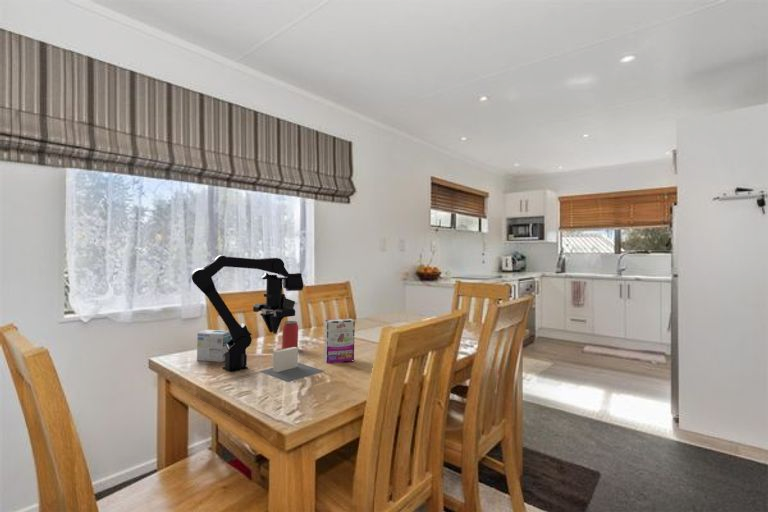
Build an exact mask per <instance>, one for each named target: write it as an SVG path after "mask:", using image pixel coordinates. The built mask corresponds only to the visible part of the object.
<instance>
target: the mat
mask: <svg viewBox="0 0 768 512" xmlns="http://www.w3.org/2000/svg"><path fill="white" fill-rule="evenodd" d="M259 372H260V373H263V374H265V375H268V376H270V377H273V378H276V379H279V380H280V381H284V382H286V383H290V382H294V381H297V380H299V379H303V378H306V377H310V376H313V375H314V376H315V375H316V374H319V373H323V372H325V370H322V369H319V368H316V367H312V366H310V365H308V364H304V363H301V362H298V367H295V368H291V369H287V370H284V371H280V372H275V371H273V367H271V368H267V369H263V370H260V371H259Z"/></svg>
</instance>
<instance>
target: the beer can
mask: <svg viewBox="0 0 768 512" xmlns="http://www.w3.org/2000/svg"><path fill="white" fill-rule="evenodd" d="M281 334H282V337H281V338H282V339H281V350H282V349H286V348H291V347H297V348H298V349H299V347H298V346H299V345H298V344H299V342H298V341H299V325H298V322H297V321H296V320H288V321H283V325H282V333H281Z"/></svg>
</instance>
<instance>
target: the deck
mask: <svg viewBox="0 0 768 512" xmlns="http://www.w3.org/2000/svg"><path fill="white" fill-rule="evenodd" d="M298 363H299V347H298V348H297V347H291V348H286V349H282V348H281V349H279V350H274V351H273V364H272V368H273V371H275V372H280V371H284V370H287V369H291V368H295V367H298Z"/></svg>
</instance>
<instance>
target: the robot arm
mask: <svg viewBox="0 0 768 512" xmlns="http://www.w3.org/2000/svg"><path fill="white" fill-rule="evenodd" d="M225 267H228V268H237V269H239V268H240V269H241V268H242V269H253V270H260V271H263V272H264V274H262V276H261V277H260V279H262V280H266V285H265V286H266V287H265V288H266V292H265V293H263V297H265V302H263V303H255V304H254V305H253V306H252V311H253V312H254V313H259V312H261V313H260V314H259V315H260V316H261V318H262V320H263V321H264V322H265V325H266V328H267V330H268V331H269V333H270V334H272V333H273V335H274V334H278V329H279V327H280V325H281V322H282V320H284V318H290V317H296V310H295V308H294V307H295V305H296V301H295V300H293V299H289V298H287V296H286V295H285V293H283V289H285V291H286V292H291V291H293V292H294V291H295V292H297V291H303V289H304V281H303V274H302V273H301V272H295V273H289V272H288V270H287V269H286V268H285V262H284V261H283V259H281V258H280V257H264V258H248V257H237V256H226V255H223V254H222V255H218V256H216V258H214V259H213V260H212V261H210V262H208V263H207V264H206V265H205V266H203V267H201V268H199V267H198V268H196V269H195V270H193V271H192V273H191V281H192V282H193V284H194V285H195V286H196V287H197V288H198V289H199V290H200V291H201V292H202V293H203V294H204V295H205V296H206V297H207V298H208V300H209V302H210V303H211V304H212V306H213V308H214V309H215V311H216V312H217V314H218V315H219V316H220V318H221V320H222V321H223V322H224V324H225V325H226V328H227V331H229V333H230V335H231V340H230V341H229V342H228V343H227V344H226V347H227V349H228V352H225V361H224V366H222V369H223V370H225V371H227V372H229V373H235V372H239V371H242V370H247V369H249V367H248V366H247V361H248V359H247V358H248V356H247V348H249V347H250V346H251V344H252V341H253V340H252V337H251V336H252V333H251V332H250V330H248V329H249V328H248V327H247V325H246V324H245V323H244V322H242V323H241V324H240V323H239V322H238V321H237V320H236V317H234V315H233V313H232V311H230V309H229V308H228V306H227V305H226V303H225V301H224V299H223V298H222V296H221V295H220V293H219V292H218V291H217V288H216V285H215V283H214V280H213V278H212V277H214V276H215V275H216V274H217V273H218V272H220V270H222V269H223V268H225ZM270 273H272V274H270ZM277 274H278V275H277ZM278 276H280V277H278ZM281 276H282V277H281Z"/></svg>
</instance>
